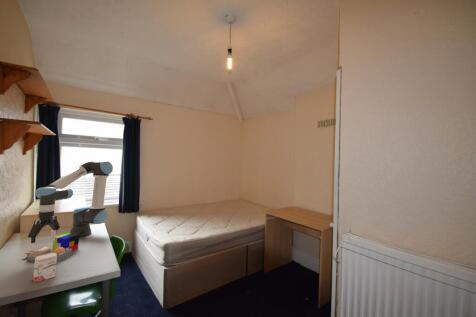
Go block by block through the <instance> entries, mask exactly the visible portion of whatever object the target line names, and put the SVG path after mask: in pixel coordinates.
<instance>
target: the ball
mask: <svg viewBox="0 0 476 317" xmlns="http://www.w3.org/2000/svg"><path fill="white" fill-rule="evenodd" d="M63 252H65V249H64V248H63V247H59V248H56V249H55V250H54V252H53V253H56V254H57V256H58V255H59V254H61V253H63Z"/></svg>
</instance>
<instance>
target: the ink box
mask: <svg viewBox="0 0 476 317" xmlns="http://www.w3.org/2000/svg"><path fill="white" fill-rule="evenodd" d="M57 263H58V261H57V254H56V253H50V254H46V255H41V256H37V257H35V261H34V265H33V276H32V278H33V279H32V281H33V283H38V282H42V281H44V280H48V279H51V278H54V277H55V278H56V274H57V273H56V272H57Z"/></svg>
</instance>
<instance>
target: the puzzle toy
mask: <svg viewBox="0 0 476 317" xmlns="http://www.w3.org/2000/svg"><path fill="white" fill-rule="evenodd" d="M79 240H80V237H79V235H78V234H71V233H70V232H68V233H67V232H66V233H63V234H60V235H56V240H52V249H51V251H54V250H55V249H56V248H59V247H63V248H64V249H65V250H69V249H72V252H73V251H75V250H78V249H79Z"/></svg>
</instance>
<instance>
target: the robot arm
mask: <svg viewBox="0 0 476 317" xmlns="http://www.w3.org/2000/svg"><path fill="white" fill-rule="evenodd" d="M113 170H114V168H113V164H112V163H111V162H110V161H109V160H104V159H103V160H101V159H100V160H96V159H92V160H91V159H90V160H87V161H85V162H82V163H81V164H79V165H77V166H76V167H75V169H72V171H70V172H68V173H66V174H65V175H63V176H62V177H60V178H58V179H57V180H55V181H54V182H52V183H50V184H48V185H47V186H45V187H43V186H42V187H39V188H36V189H35V192H34V194H35V197H37V198H38V199H39V205H38V206H39V207H38V211H39V212H38V216H37V218H39V219H38V220H34V221H33V225H32V226H31V229H30V231H29V233H28V235H27V238H30V243H31V245H30V248H31V249H36V248H37V247H38V235H39V234H40V232H41V230H42V229H43V228H44V227H46V226H49V227H50V228H51V229H52V230H51V232H50V233H51V234H50V240H51V241H53V240H56V236H57V235H58V233H57V232H58V231H59V229H60V227H61V225H60V223H59V222H58V216H57V215H55V206H56V202H57V201H61V200H68V199H71V198H72V197H73V195H74V191H73V190H72V189H71V188H66V187H68V186H69V185H71V184H72V183H74V182H76V181H77V180H79V179H80V178H82V177H84V176H87V175H90V174H92V176H93V177H94V183H93V190H92V200H91V206H83V207H78V208H75V209H73V213H72V226H71V229H70V231H69V233H71V234H78V235H79V238H82V237H83V238H84V237H87V236H89V235H91V234H92V229H91V225H90V224H94V225H101V224H103V223H104V222H105V221H106V220H107V218H108V216H109V212H108V210H106V206H105V205H104V204H105V194H106V188H107V178H108V177H109V176H110V174H112V173H113V172H114V171H113Z"/></svg>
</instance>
